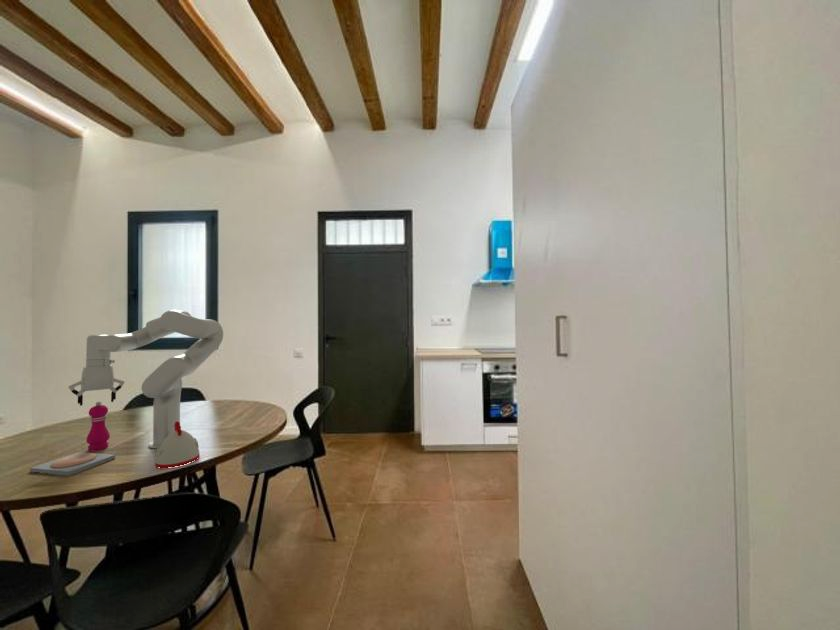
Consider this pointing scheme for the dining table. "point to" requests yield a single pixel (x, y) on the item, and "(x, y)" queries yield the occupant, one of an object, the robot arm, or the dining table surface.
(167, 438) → the kitchen timer
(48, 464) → the slate board
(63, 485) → the dining table surface
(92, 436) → the pepper mill
